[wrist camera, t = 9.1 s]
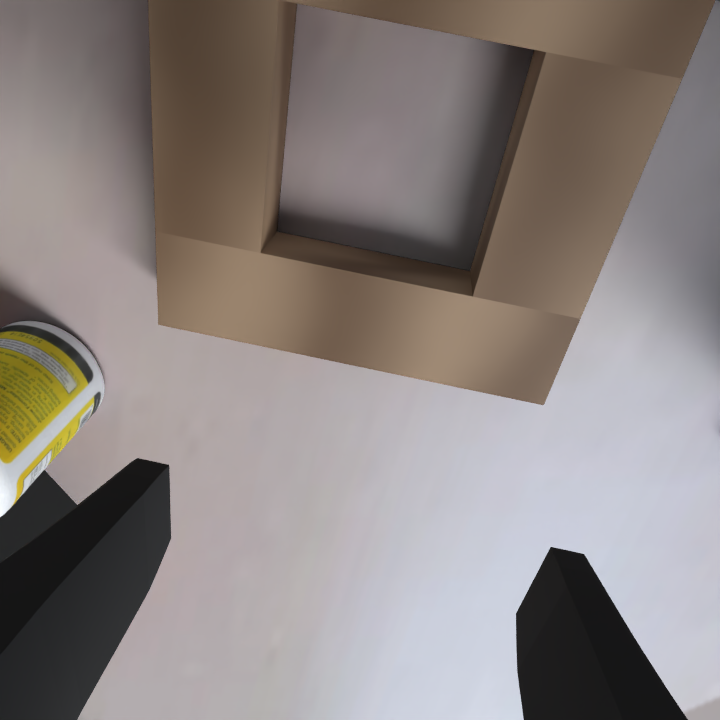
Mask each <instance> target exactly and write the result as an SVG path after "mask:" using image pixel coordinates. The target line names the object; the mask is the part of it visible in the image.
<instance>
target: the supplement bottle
mask: <svg viewBox="0 0 720 720" xmlns="http://www.w3.org/2000/svg"><path fill="white" fill-rule="evenodd" d="M104 390H105V386H104V379H103V376H102V373H101V370H100V368H99V366H98V364H97V362H96V360H95V358H94V357H93V355H92V354H91V353H90V351H89V350H88V349H87V348H86V347H85V346H84V345H83V344H82V343H81V342H80V341H79V340H78V339H76V338H75V337H74V336H72V335H71V334H69V333H67V332H66V331H64V330H62V329H60V328H58V327H55V326H53V325H50V324H47V323H42V322H36V321H21V322H15V323H12V324H9V325H7V326H4V327H3V328H1V329H0V517H1V516H3V515H4V514H5V513H6V512H7V511H8V510H9V509H10V508H11V507H12V506H13V505H14V504H15V503H16V501H17V500H18V499H19V498H20V497H21V495H22V494H23V493H24V492H25V491H26V490H27V489H28V488H29V486H30V485H31V484H32V483H33V482H34V481H35V480H36V478H37V477H38V476H39V475H40V474H41V473H42V472H43V471H44V469H45V468H46V467H47V466H48V465H49V464H50V463H51V461H52V460H53V459H54V458H55V457H56V456H57V455H58V453H59V452H60V451H61V450H62V449H63V448H64V447H65V445H66V444H67V443H68V442H69V441H70V440H71V439H72V437H73V436H74V435H75V434H76V433H77V432H78V431H79V429H80V428H81V427H82V426H83V425H84V424H85V423H86V421H87V420H88V419H89V418H90V417H91V416H92V414H93V413H94V412H95V411H96V410H97V409H98V407H99V406H100V404H101V402H102V400H103V396H104Z"/></svg>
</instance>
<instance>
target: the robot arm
mask: <svg viewBox="0 0 720 720" xmlns="http://www.w3.org/2000/svg"><path fill="white" fill-rule="evenodd" d="M170 540H171V521H170V479H169V465H167V464H162V463H157V462H153V461H148V460H143V459H139V458H137V459H135V460H134V461H132V462H131V463H130V464H128V465H127V466H126V467H125V468H123V469H122V470H121V471H120V472H118V473H117V474H116V475H115V476H113V477H112V478H111V479H110V480H108V481H107V482H106V483H105V484H103V485H102V486H101V487H100V488H99V489H97V490H96V491H95V492H94V493H92V494H91V495H90V496H88V497H87V498H86V499H85V500H83V501H82V502H81V503H80V504H78V505H77V506H76V507H74V508H73V509H72V510H71V511H69V512H68V513H67V514H65V515H64V516H63V517H61V518H60V519H59V520H57V521H56V522H55V523H53V524H52V525H51V526H49V527H48V528H47V529H45V530H44V531H43V532H41V533H40V534H39V535H37V536H36V537H35V538H33V539H32V540H31V541H29V542H28V543H27V544H25V545H24V546H22V547H21V548H20V549H18V550H17V551H15V552H14V553H12V554H11V555H9V556H8V557H6V558H5V559H4V560H2V561H1V562H0V720H77V719H78V717H79V715H80V713H81V711H82V709H83V707H84V706H85V704H86V702H87V700H88V699H89V697H90V695H91V693H92V691H93V690H94V688H95V686H96V684H97V683H98V681H99V679H100V677H101V675H102V674H103V672H104V670H105V668H106V667H107V665H108V663H109V661H110V659H111V658H112V656H113V654H114V652H115V651H116V649H117V647H118V645H119V644H120V642H121V640H122V638H123V636H124V635H125V633H126V631H127V629H128V628H129V626H130V624H131V622H132V620H133V619H134V617H135V615H136V613H137V611H138V610H139V608H140V606H141V604H142V602H143V600H144V599H145V597H146V595H147V593H148V591H149V589H150V587H151V585H152V582H153V580H154V578H155V576H156V573H157V571H158V569H159V566H160V564H161V561H162V559H163V557H164V554H165V552H166V549H167V547H168V544H169V542H170ZM516 640H517V671H518V679H519V687H520V694H521V702H522V709H523V716H524V720H688V719H687V718H686V716H685V715H684V714H683V712H682V711H681V709H680V708H679V706H678V705H677V703H676V702H675V700H674V699H673V697H672V696H671V694H670V693H669V691H668V690H667V688H666V687H665V685H664V683H663V682H662V680H661V679H660V677H659V676H658V674H657V673H656V671H655V669H654V668H653V666H652V665H651V663H650V662H649V660H648V659H647V657H646V655H645V654H644V652H643V651H642V649H641V648H640V646H639V644H638V643H637V641H636V639H635V638H634V636H633V635H632V633H631V631H630V630H629V628H628V626H627V625H626V623H625V622H624V620H623V618H622V617H621V615H620V613H619V612H618V610H617V608H616V607H615V605H614V603H613V602H612V600H611V598H610V597H609V595H608V593H607V592H606V590H605V588H604V587H603V585H602V583H601V582H600V580H599V578H598V577H597V575H596V573H595V572H594V570H593V568H592V567H591V565H590V563H589V562H588V560H587V558H586V557H585V555H584V554H581V553H577V552H572V551H567V550H563V549H558V548H553V547H551V548H550V550H549V552H548V553H547V555H546V557H545V559H544V561H543V563H542V565H541V567H540V569H539V571H538V573H537V575H536V577H535V578H534V580H533V582H532V584H531V586H530V588H529V590H528V592H527V594H526V596H525V598H524V600H523V601H522V603H521V605H520V607H519V609H518V611H517V613H516Z"/></svg>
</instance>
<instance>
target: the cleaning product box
mask: <svg viewBox="0 0 720 720" xmlns="http://www.w3.org/2000/svg"><path fill="white" fill-rule="evenodd" d="M76 506H77V504H76V503H75V502H74V501H73V500H72V499H71V498H70V497H69V496H68V495H67V494H66V493H65V492H64V491H63V489H62V488H61V487H60V486H59V485H58V484H57V483H56V482H55V481H54V480H53V479H52V478H51V477H50V476H49V474H48V473H47V472H46V471H45V470H44V471H43V472H42V473H41V474H40V475H39V476H38V477H37V478H36V480H35V481H34V482H33V483H32V484H31V485H30V486H29V488H28V489H27V490H26V491H25V492H24V493H23V494H22V495H21V497H20V498H19V499H18V500H17V501H16V503H15V504H14V505H13V506H12V507H11V508H10V509H9V510H8V511H7V512H6V513H5V514H4V515H3V516H1V517H0V562H1V561H2V560H4V559H5V558H6V557H8V556H9V555H11V554H12V553H14V552H15V551H17V550H18V549H20V548H21V547H22V546H24V545H25V544H27V543H28V542H29V541H31V540H32V539H33V538H35V537H36V536H37V535H39V534H40V533H41V532H43V531H44V530H45V529H47V528H48V527H49V526H51V525H52V524H53V523H55V522H56V521H57V520H59V519H60V518H61V517H63V516H64V515H65V514H67V513H68V512H69V511H71V510H72V509H73V508H74V507H76Z"/></svg>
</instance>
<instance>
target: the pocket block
mask: <svg viewBox="0 0 720 720" xmlns="http://www.w3.org/2000/svg"><path fill="white" fill-rule="evenodd" d="M714 3H715V0H148V17H149V48H150V79H151V110H152V141H153V172H154V203H155V234H156V265H157V296H158V325H163V326H168V327H172V328H177V329H182V330H187V331H191V332H196V333H201V334H206V335H211V336H215V337H220V338H225V339H230V340H234V341H239V342H244V343H249V344H254V345H258V346H263V347H268V348H273V349H277V350H282V351H287V352H292V353H297V354H301V355H306V356H311V357H316V358H320V359H325V360H330V361H335V362H340V363H344V364H349V365H354V366H359V367H364V368H368V369H373V370H378V371H383V372H387V373H392V374H397V375H402V376H407V377H411V378H416V379H421V380H426V381H430V382H435V383H440V384H445V385H450V386H454V387H459V388H464V389H469V390H473V391H478V392H483V393H488V394H493V395H497V396H502V397H507V398H512V399H516V400H521V401H526V402H531V403H536V404H540V405H544V403H545V401H546V398H547V396H548V394H549V391H550V389H551V387H552V384H553V382H554V380H555V377H556V375H557V372H558V370H559V368H560V365H561V363H562V361H563V358H564V356H565V354H566V351H567V349H568V347H569V344H570V342H571V339H572V337H573V335H574V332H575V330H576V328H577V325H578V323H579V321H580V318H581V316H582V314H583V311H584V309H585V307H586V304H587V302H588V299H589V297H590V295H591V292H592V290H593V288H594V285H595V283H596V281H597V278H598V276H599V274H600V271H601V269H602V266H603V264H604V262H605V259H606V257H607V255H608V252H609V250H610V248H611V245H612V243H613V241H614V238H615V236H616V233H617V231H618V229H619V226H620V224H621V222H622V219H623V217H624V215H625V212H626V210H627V208H628V205H629V203H630V200H631V198H632V196H633V193H634V191H635V189H636V186H637V184H638V182H639V179H640V177H641V175H642V172H643V170H644V168H645V165H646V163H647V160H648V158H649V156H650V153H651V151H652V149H653V146H654V144H655V142H656V139H657V137H658V135H659V132H660V130H661V127H662V125H663V123H664V120H665V118H666V116H667V113H668V111H669V109H670V106H671V104H672V102H673V99H674V97H675V94H676V92H677V90H678V87H679V85H680V83H681V80H682V78H683V76H684V73H685V71H686V69H687V66H688V64H689V61H690V59H691V57H692V54H693V52H694V50H695V47H696V45H697V43H698V40H699V38H700V36H701V33H702V31H703V29H704V26H705V24H706V21H707V19H708V17H709V14H710V12H711V10H712V7H713V5H714ZM297 4H302V5H307V6H313V7H318V8H323V9H328V10H333V11H338V12H343V13H348V14H353V15H359V16H364V17H369V18H374V19H379V20H384V21H389V22H394V23H400V24H405V25H410V26H415V27H420V28H425V29H430V30H435V31H441V32H446V33H451V34H456V35H461V36H466V37H471V38H476V39H481V40H487V41H492V42H497V43H502V44H507V45H512V46H517V47H522V48H528V49H533V50H534V53H533V56H532V60H531V63H530V66H529V70H528V73H527V77H526V80H525V84H524V87H523V91H522V94H521V97H520V101H519V104H518V108H517V111H516V115H515V118H514V122H513V125H512V128H511V132H510V135H509V139H508V142H507V146H506V149H505V153H504V156H503V159H502V163H501V166H500V170H499V173H498V177H497V180H496V184H495V187H494V190H493V194H492V197H491V201H490V204H489V208H488V211H487V215H486V218H485V221H484V225H483V228H482V232H481V235H480V239H479V242H478V246H477V249H476V252H475V256H474V259H473V263H472V266H471V270H470V271H467V270H462V269H457V268H453V267H448V266H443V265H438V264H433V263H428V262H423V261H418V260H413V259H409V258H404V257H399V256H394V255H389V254H384V253H379V252H374V251H369V250H365V249H360V248H355V247H350V246H345V245H340V244H335V243H330V242H325V241H321V240H316V239H311V238H306V237H301V236H296V235H291V234H286V233H281V232H277V226H278V215H279V203H280V192H281V181H282V169H283V158H284V147H285V135H286V124H287V113H288V101H289V90H290V78H291V67H292V56H293V44H294V33H295V22H296V10H297Z"/></svg>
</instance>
